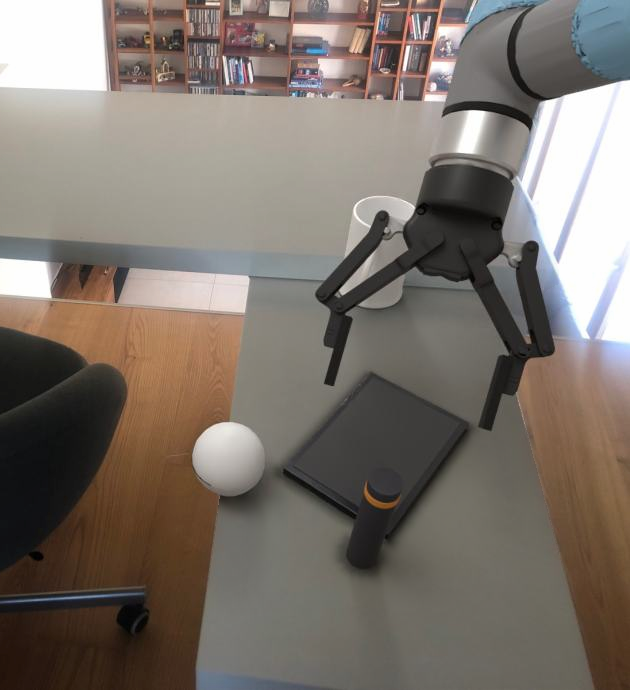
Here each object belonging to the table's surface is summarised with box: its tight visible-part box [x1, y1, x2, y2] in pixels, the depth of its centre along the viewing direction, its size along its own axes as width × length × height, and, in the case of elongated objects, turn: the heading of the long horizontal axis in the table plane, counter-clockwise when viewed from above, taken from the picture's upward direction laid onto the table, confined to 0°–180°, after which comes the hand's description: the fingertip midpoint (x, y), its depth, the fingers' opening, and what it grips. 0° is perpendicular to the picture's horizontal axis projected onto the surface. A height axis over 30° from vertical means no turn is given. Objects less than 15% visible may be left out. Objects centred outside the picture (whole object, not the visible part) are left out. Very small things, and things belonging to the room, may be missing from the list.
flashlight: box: [345, 467, 403, 570], centre depth 61 cm, size 3×3×12 cm
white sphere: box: [165, 421, 267, 497], centre depth 69 cm, size 10×7×7 cm
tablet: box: [282, 371, 470, 540], centre depth 74 cm, size 12×18×1 cm, turn 139°
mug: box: [338, 195, 415, 310], centre depth 88 cm, size 12×8×12 cm
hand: (403, 406), depth 62 cm, fingers open, 13 cm apart
